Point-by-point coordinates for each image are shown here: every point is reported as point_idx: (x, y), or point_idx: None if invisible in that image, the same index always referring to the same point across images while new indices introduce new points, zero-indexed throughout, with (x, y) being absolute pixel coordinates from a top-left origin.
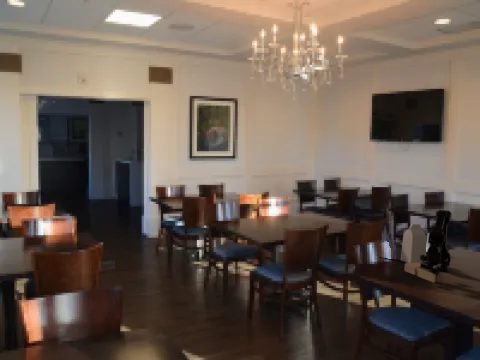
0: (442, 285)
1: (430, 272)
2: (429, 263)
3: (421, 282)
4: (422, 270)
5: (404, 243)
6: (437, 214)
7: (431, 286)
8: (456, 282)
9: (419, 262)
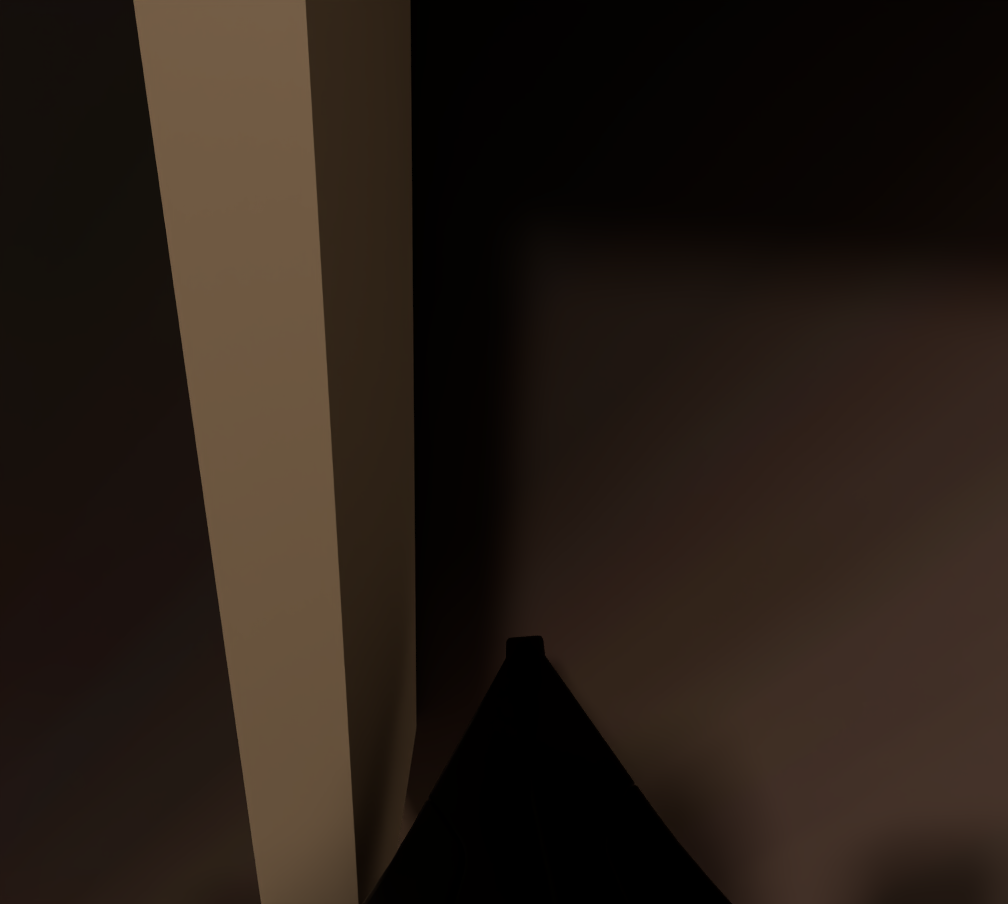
0: None
1: (340, 792)
2: None
3: (12, 593)
4: (180, 139)
5: None
6: None
7: (100, 882)
8: (1000, 810)
9: None
